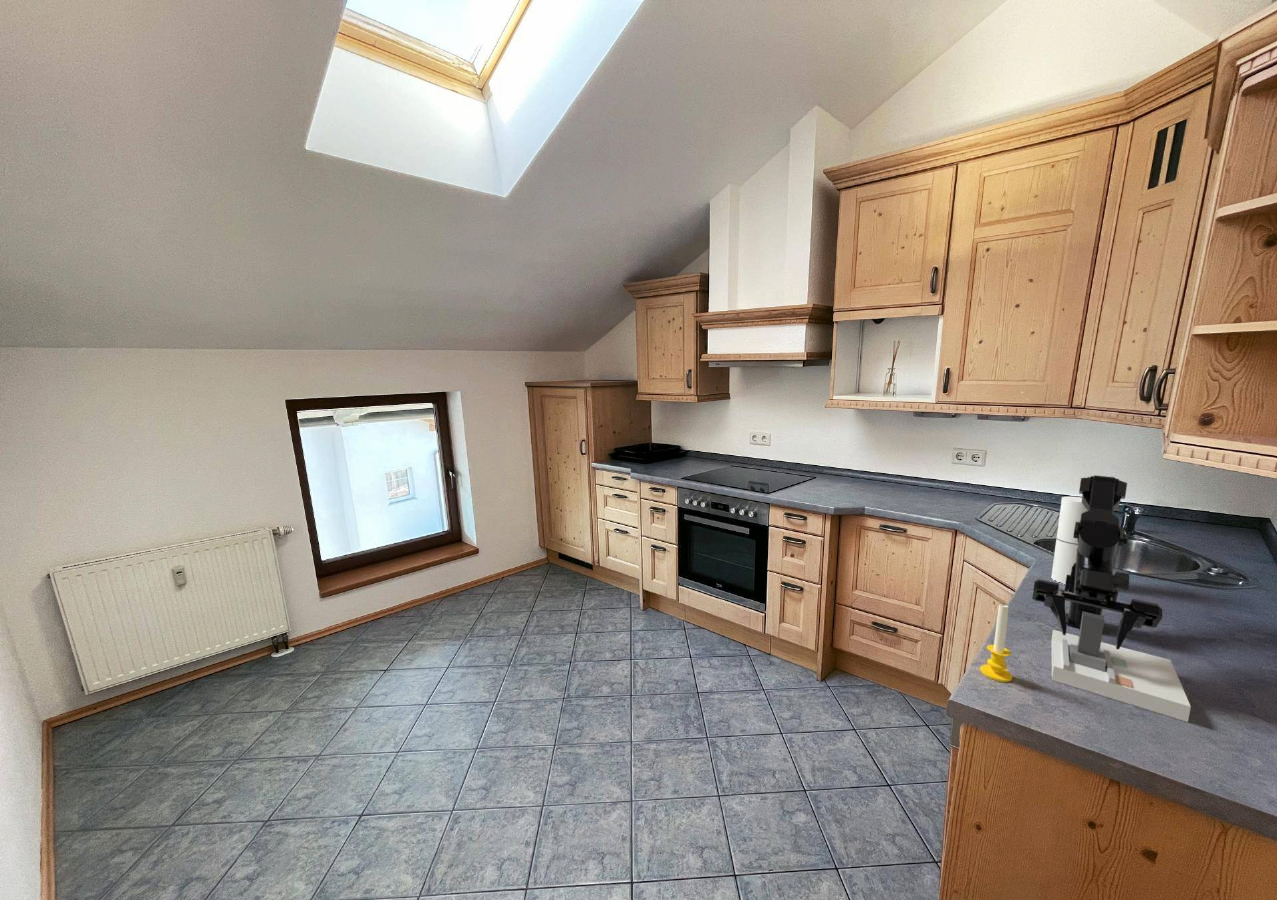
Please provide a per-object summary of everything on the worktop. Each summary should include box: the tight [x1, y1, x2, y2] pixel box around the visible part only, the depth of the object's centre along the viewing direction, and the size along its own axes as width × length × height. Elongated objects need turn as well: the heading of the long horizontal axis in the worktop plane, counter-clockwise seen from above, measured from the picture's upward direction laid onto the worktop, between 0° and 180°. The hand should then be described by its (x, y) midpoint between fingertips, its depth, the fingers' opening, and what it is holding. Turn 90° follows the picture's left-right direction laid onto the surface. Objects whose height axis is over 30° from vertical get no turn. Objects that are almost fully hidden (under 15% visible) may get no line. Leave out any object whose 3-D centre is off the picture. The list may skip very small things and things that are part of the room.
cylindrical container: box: [1051, 496, 1088, 585], centre depth 137 cm, size 7×7×25 cm
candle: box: [979, 604, 1013, 683], centre depth 95 cm, size 5×5×16 cm
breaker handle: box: [1069, 612, 1106, 671], centre depth 94 cm, size 4×5×10 cm
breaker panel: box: [1050, 629, 1191, 723], centre depth 94 cm, size 18×18×4 cm
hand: (1090, 641), depth 93 cm, fingers open, 7 cm apart
